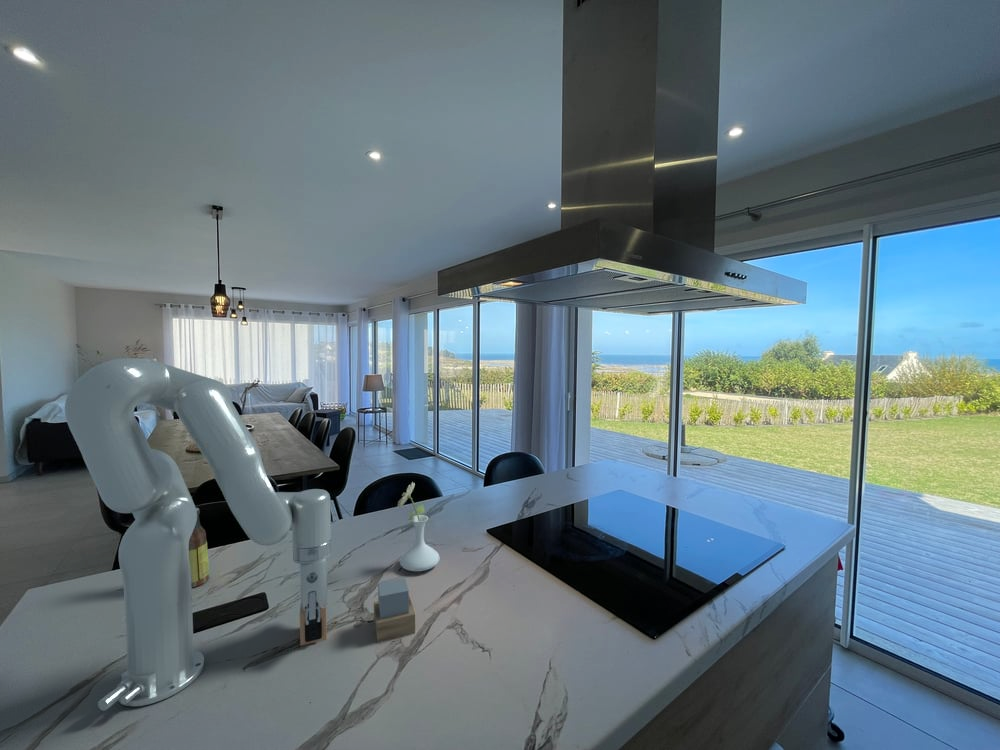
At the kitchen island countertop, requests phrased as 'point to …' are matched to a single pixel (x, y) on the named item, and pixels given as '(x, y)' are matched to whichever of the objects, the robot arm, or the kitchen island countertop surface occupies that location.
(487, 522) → the kitchen island countertop surface
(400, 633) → the light brown wooden plinth
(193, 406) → the robot arm
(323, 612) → the peach rectangular block
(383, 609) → the slate-grey cube
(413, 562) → the flower in vase
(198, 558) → the sauce bottle
